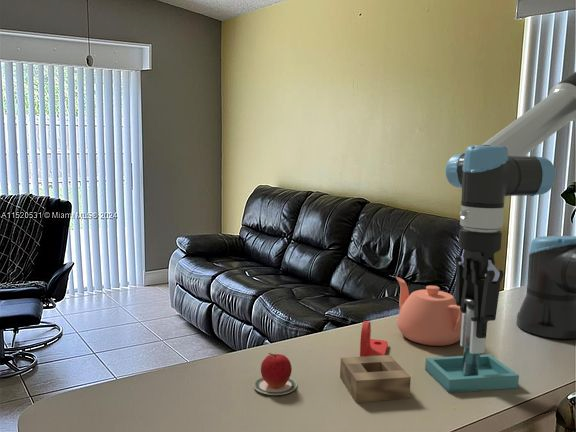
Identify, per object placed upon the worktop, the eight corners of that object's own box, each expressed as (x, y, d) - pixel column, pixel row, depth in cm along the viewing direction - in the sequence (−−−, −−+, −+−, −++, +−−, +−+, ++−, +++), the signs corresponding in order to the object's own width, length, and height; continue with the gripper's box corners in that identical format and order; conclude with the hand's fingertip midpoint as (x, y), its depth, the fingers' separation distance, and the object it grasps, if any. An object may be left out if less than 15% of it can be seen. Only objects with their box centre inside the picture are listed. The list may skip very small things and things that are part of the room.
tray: (488, 365, 111) (489, 354, 110) (517, 387, 101) (519, 375, 101) (425, 369, 108) (425, 358, 108) (448, 392, 98) (449, 379, 98)
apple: (245, 384, 100) (245, 351, 99) (279, 374, 105) (280, 342, 104) (270, 401, 94) (270, 366, 93) (305, 389, 99) (306, 355, 98)
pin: (474, 368, 107) (479, 296, 105) (485, 377, 103) (490, 302, 101) (455, 369, 106) (460, 297, 104) (465, 378, 102) (471, 303, 100)
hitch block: (389, 374, 106) (390, 355, 105) (409, 398, 96) (410, 377, 95) (340, 377, 104) (340, 357, 103) (355, 402, 94) (356, 380, 94)
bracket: (381, 366, 110) (383, 329, 108) (359, 363, 111) (361, 327, 110) (388, 345, 121) (389, 311, 120) (368, 343, 122) (369, 309, 121)
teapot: (372, 327, 132) (374, 278, 131) (417, 318, 140) (419, 272, 138) (440, 359, 114) (443, 303, 112) (487, 346, 122) (491, 293, 120)
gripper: (442, 222, 107) (435, 335, 111) (485, 236, 92) (475, 367, 95) (476, 222, 109) (469, 333, 112) (524, 236, 93) (514, 364, 97)
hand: (472, 348), depth 104 cm, fingers closed on pin, 3 cm apart
